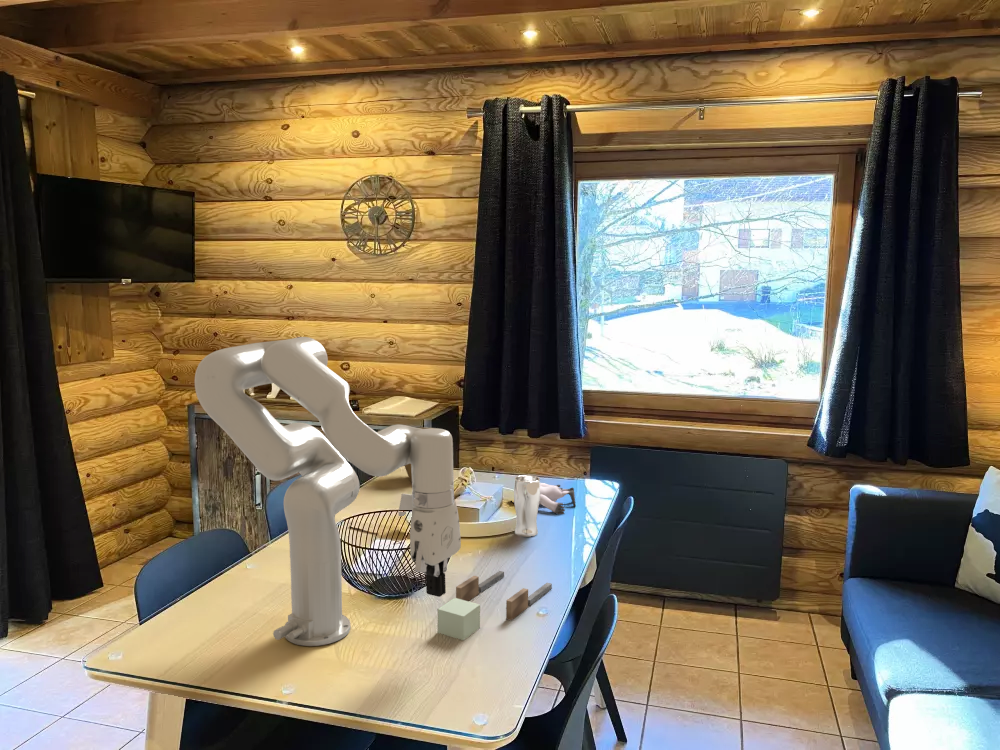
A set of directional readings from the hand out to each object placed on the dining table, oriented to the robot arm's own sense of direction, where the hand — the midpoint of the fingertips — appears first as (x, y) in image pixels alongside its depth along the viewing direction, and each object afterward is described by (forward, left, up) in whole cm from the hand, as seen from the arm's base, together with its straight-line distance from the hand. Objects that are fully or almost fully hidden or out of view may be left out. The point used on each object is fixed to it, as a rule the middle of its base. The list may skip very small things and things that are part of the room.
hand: (436, 593), depth 145 cm
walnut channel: (+21, +1, -11) cm, 24 cm away
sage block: (+9, +1, -11) cm, 14 cm away
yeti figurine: (+89, +24, -12) cm, 93 cm away
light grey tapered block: (+49, +42, -11) cm, 65 cm away
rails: (+31, +1, -11) cm, 33 cm away
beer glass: (+64, +16, -11) cm, 67 cm away
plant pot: (+89, +69, -11) cm, 113 cm away
